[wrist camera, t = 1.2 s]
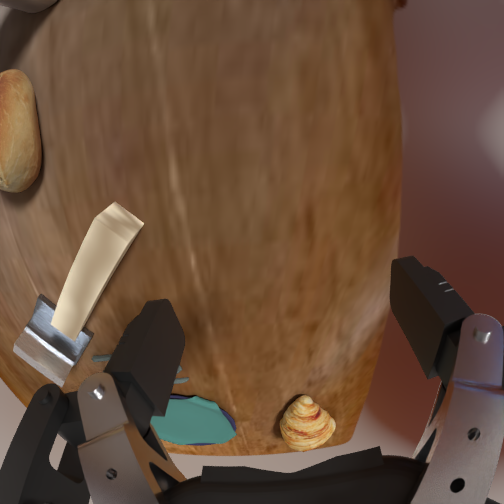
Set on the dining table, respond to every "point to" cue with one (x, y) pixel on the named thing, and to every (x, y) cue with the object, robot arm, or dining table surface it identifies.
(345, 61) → the dining table surface
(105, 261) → the birch bar
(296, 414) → the croissant
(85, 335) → the ridge stand
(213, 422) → the cutlery set
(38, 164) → the bread roll
